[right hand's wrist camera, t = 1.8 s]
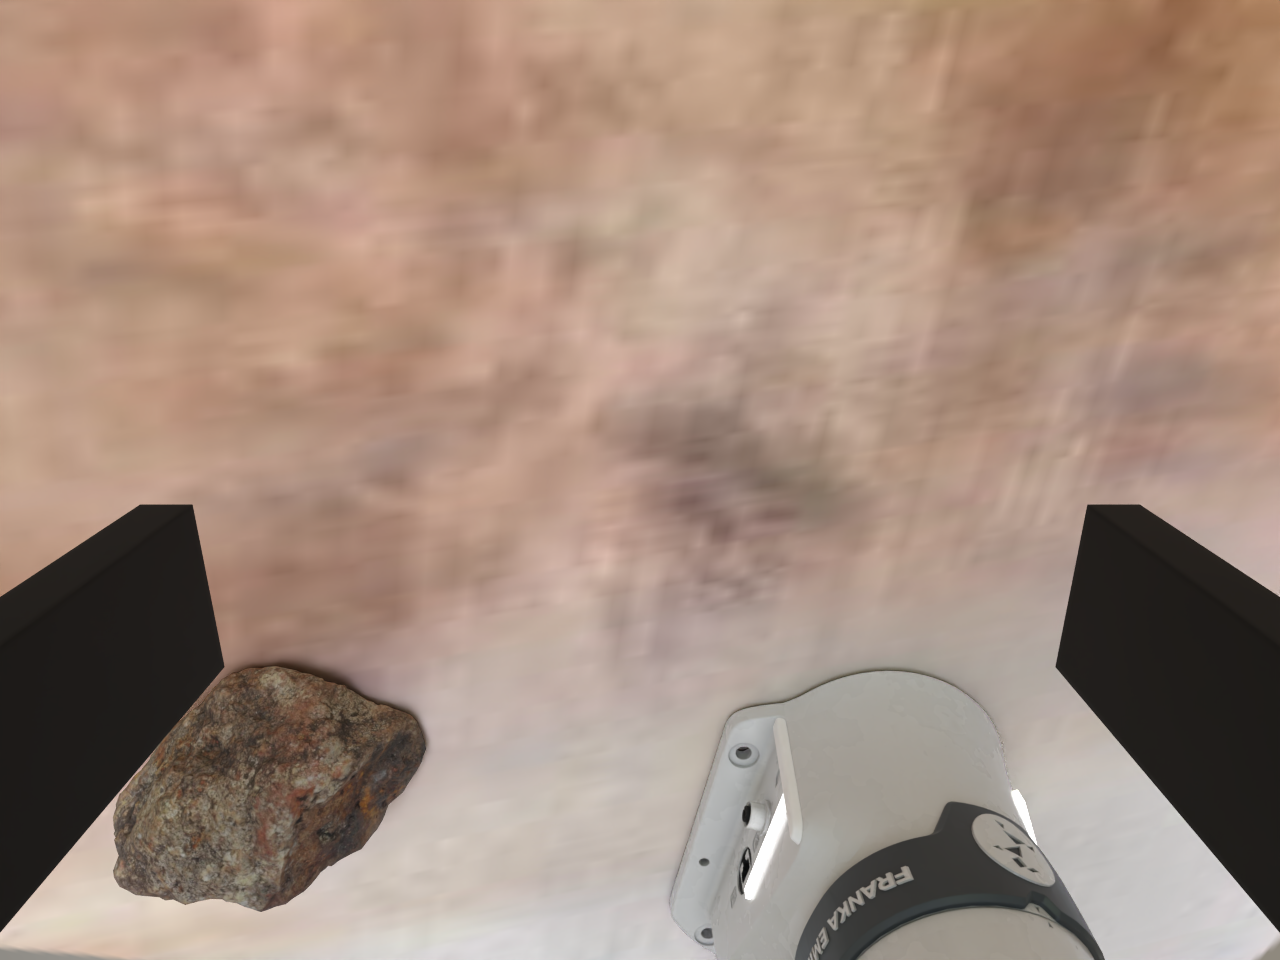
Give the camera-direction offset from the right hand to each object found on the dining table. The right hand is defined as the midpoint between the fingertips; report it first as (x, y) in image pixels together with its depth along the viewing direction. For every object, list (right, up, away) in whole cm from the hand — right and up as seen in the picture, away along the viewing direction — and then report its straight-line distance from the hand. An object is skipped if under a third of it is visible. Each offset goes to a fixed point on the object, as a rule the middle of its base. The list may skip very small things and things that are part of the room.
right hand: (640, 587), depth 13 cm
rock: (-19, -13, +34) cm, 42 cm away
